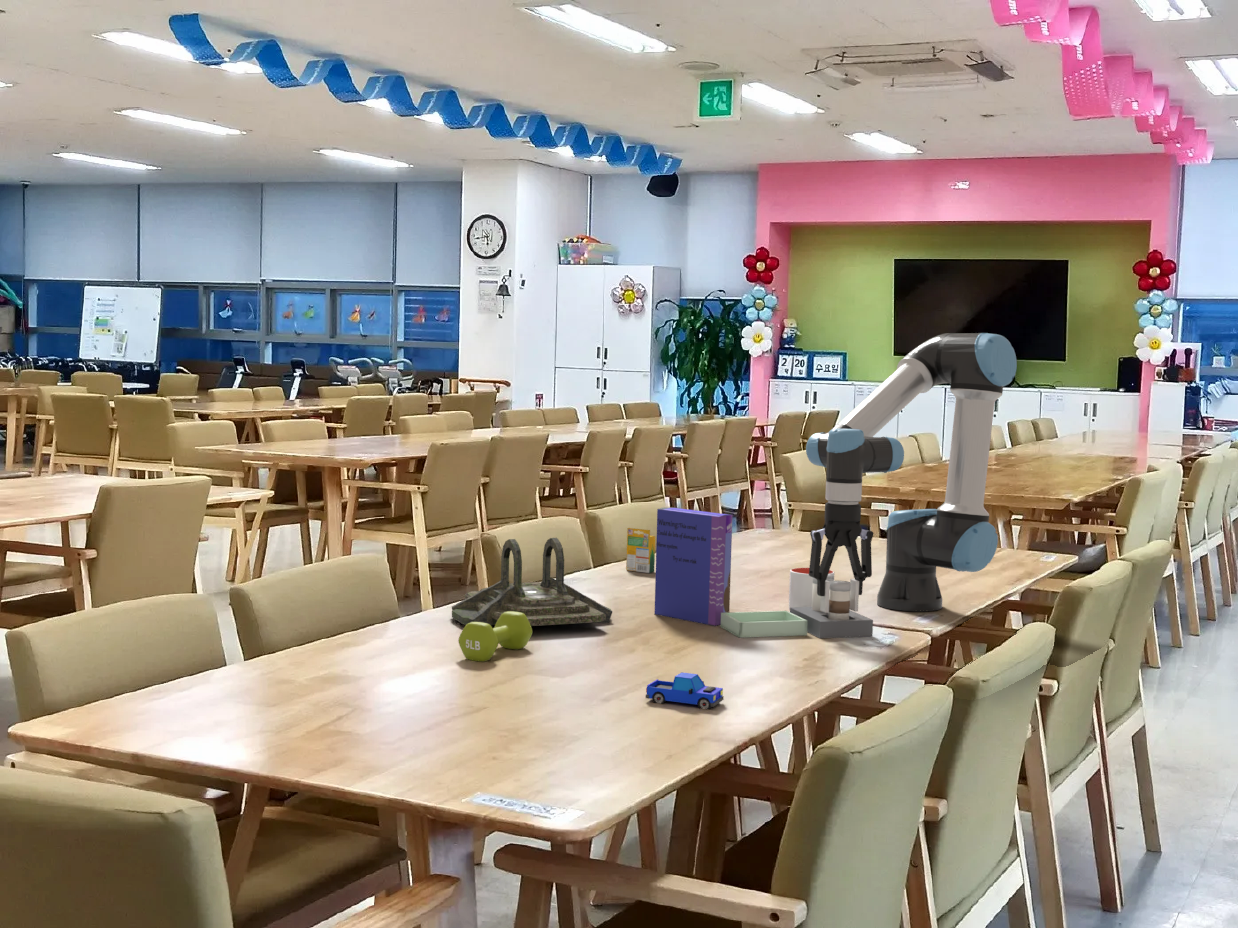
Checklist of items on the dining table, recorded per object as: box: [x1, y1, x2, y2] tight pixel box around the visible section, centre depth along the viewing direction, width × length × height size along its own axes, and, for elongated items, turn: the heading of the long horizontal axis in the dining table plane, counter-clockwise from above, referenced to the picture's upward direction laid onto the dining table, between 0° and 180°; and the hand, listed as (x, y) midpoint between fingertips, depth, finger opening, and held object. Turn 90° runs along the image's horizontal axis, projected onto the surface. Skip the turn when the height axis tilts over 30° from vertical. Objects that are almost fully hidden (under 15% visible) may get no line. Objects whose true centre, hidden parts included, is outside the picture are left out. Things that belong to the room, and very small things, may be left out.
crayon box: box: [625, 527, 656, 574], centre depth 368 cm, size 7×3×12 cm, turn 58°
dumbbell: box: [457, 611, 533, 663], centre depth 265 cm, size 16×8×7 cm, turn 152°
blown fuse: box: [828, 579, 851, 620], centre depth 292 cm, size 4×4×11 cm
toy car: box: [645, 672, 724, 711], centre depth 231 cm, size 7×12×5 cm, turn 68°
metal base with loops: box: [451, 537, 613, 627], centre depth 298 cm, size 35×34×18 cm
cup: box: [788, 567, 835, 611], centre depth 313 cm, size 10×10×10 cm
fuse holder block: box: [789, 574, 874, 639], centre depth 296 cm, size 12×16×11 cm
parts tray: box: [720, 610, 808, 638], centre depth 293 cm, size 15×11×3 cm
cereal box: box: [654, 506, 733, 627], centre depth 303 cm, size 17×5×24 cm, turn 47°
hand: (838, 610), depth 292 cm, fingers open, 6 cm apart
